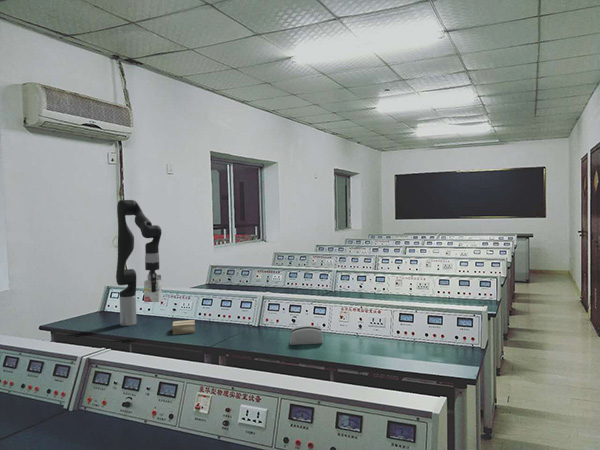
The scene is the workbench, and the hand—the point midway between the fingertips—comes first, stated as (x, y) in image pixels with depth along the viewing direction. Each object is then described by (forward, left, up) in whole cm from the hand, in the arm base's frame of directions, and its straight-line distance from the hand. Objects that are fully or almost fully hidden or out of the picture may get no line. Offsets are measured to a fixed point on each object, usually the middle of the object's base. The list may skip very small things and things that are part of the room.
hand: (152, 290), depth 270 cm
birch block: (+3, +16, -24) cm, 29 cm away
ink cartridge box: (0, 0, -6) cm, 6 cm away
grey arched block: (+58, +68, -24) cm, 92 cm away
